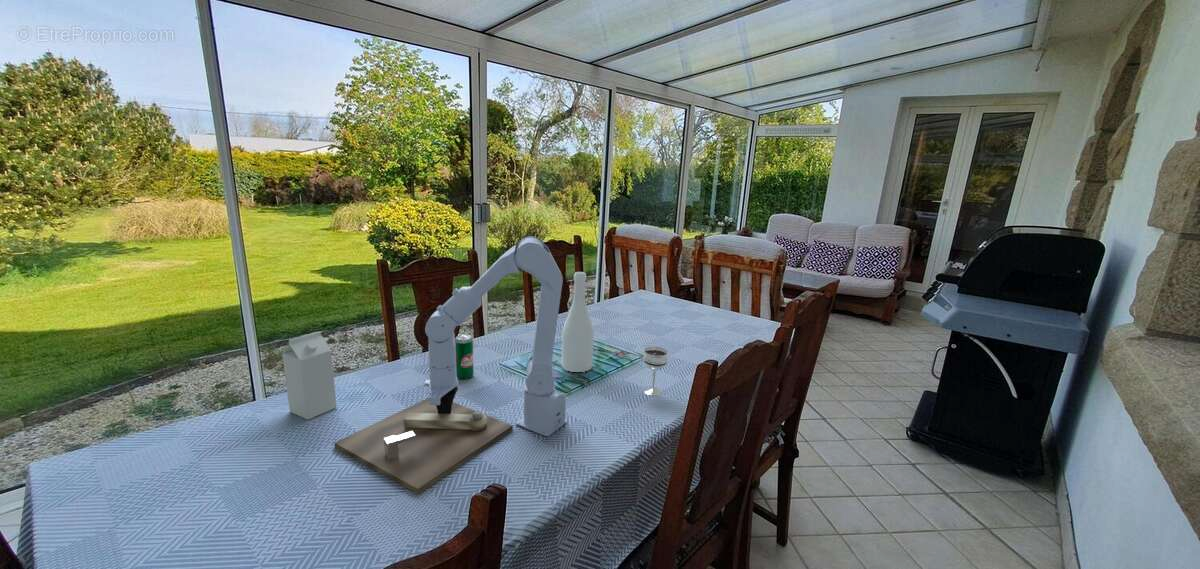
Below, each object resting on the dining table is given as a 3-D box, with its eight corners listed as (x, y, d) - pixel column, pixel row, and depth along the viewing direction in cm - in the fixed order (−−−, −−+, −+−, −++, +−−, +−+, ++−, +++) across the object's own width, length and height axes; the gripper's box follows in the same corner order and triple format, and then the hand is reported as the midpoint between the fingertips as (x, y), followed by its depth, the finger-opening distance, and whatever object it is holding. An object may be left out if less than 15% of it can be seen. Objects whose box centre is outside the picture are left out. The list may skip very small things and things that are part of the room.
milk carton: (289, 412, 108) (279, 337, 104) (319, 400, 114) (311, 328, 110) (307, 420, 105) (298, 343, 101) (337, 407, 111) (329, 334, 107)
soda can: (462, 381, 128) (461, 341, 125) (451, 376, 131) (450, 337, 128) (477, 375, 132) (476, 336, 129) (466, 370, 135) (465, 332, 132)
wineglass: (664, 387, 130) (667, 347, 127) (665, 398, 124) (669, 357, 121) (640, 385, 131) (643, 345, 128) (640, 396, 124) (643, 355, 122)
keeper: (412, 445, 96) (411, 429, 95) (416, 451, 94) (415, 434, 93) (384, 454, 92) (383, 438, 91) (388, 460, 90) (387, 443, 89)
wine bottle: (557, 363, 143) (559, 270, 136) (584, 359, 147) (588, 268, 140) (567, 376, 134) (570, 277, 127) (597, 371, 138) (601, 275, 131)
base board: (512, 430, 105) (512, 425, 105) (418, 494, 83) (417, 488, 83) (435, 399, 118) (434, 394, 117) (334, 447, 96) (334, 442, 95)
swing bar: (488, 421, 105) (488, 409, 105) (484, 431, 101) (484, 418, 101) (409, 419, 105) (409, 406, 104) (403, 428, 101) (402, 415, 100)
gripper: (433, 350, 108) (436, 402, 112) (413, 377, 94) (416, 435, 98) (464, 351, 109) (465, 403, 112) (448, 378, 95) (450, 436, 98)
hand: (444, 418), depth 105 cm, fingers closed, pressing on swing bar
